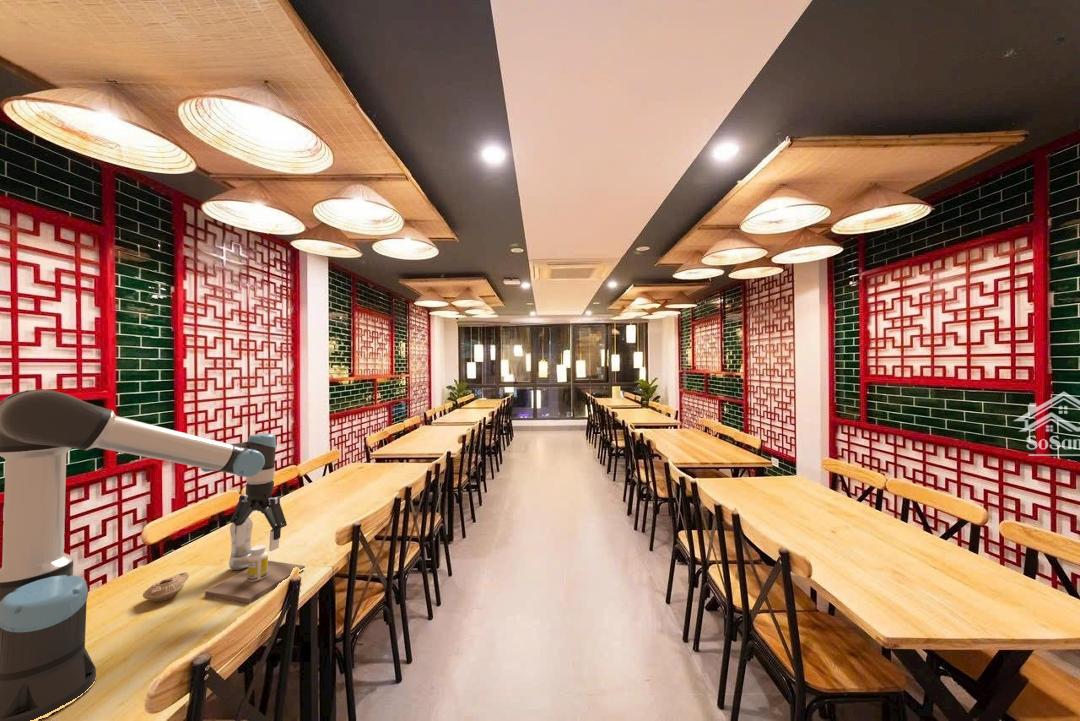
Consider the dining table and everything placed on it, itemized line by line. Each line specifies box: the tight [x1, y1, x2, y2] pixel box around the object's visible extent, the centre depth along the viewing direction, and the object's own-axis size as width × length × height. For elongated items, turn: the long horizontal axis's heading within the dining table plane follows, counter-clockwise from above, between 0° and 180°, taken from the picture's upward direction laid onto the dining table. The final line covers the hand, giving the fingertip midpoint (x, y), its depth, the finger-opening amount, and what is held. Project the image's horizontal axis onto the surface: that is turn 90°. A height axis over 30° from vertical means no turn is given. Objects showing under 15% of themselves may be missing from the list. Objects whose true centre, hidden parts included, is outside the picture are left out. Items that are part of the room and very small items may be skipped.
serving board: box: [204, 560, 306, 605], centre depth 126 cm, size 20×17×2 cm
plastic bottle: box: [228, 517, 254, 571], centre depth 135 cm, size 6×7×20 cm
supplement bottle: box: [247, 544, 269, 582], centre depth 126 cm, size 5×5×10 cm
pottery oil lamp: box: [142, 572, 190, 602], centre depth 119 cm, size 9×12×7 cm
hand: (257, 547), depth 126 cm, fingers open, 13 cm apart
